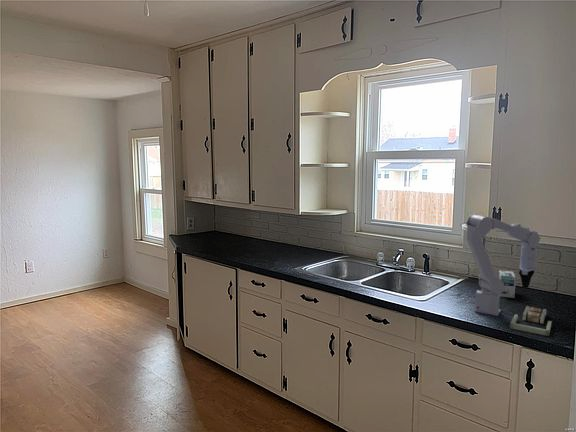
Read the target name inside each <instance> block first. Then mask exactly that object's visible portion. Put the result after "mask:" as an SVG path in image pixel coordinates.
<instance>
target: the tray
mask: <svg viewBox="0 0 576 432" xmlns="http://www.w3.org/2000/svg"><path fill="white" fill-rule="evenodd" d="M518 318H519V315H518V314H514V316H513V317H512V319H511V322H510V324H509V329H513V330H517V331H522V332H527V333H532V334H537V335H542V336H547V337H550V333H551V328H552V323H553V321H552V320H548V321H547V324H546V327H545V328H546V329H545V328H540V327H535V326H530V325H526V324H520V323H517V322H518V320H519V319H518Z"/></svg>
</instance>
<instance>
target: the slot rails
mask: <svg viewBox="0 0 576 432" xmlns="http://www.w3.org/2000/svg"><path fill="white" fill-rule="evenodd" d="M530 308H531V307H530V306H528V305H526V306H525V309H524V311H523V312H522V317H521V318H522V321H527V318H528V313H529V311H530ZM546 317H547V308H543V309H542V310H541V316H540V318H539V324H541V325H543V324H544V322H545V319H546Z"/></svg>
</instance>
